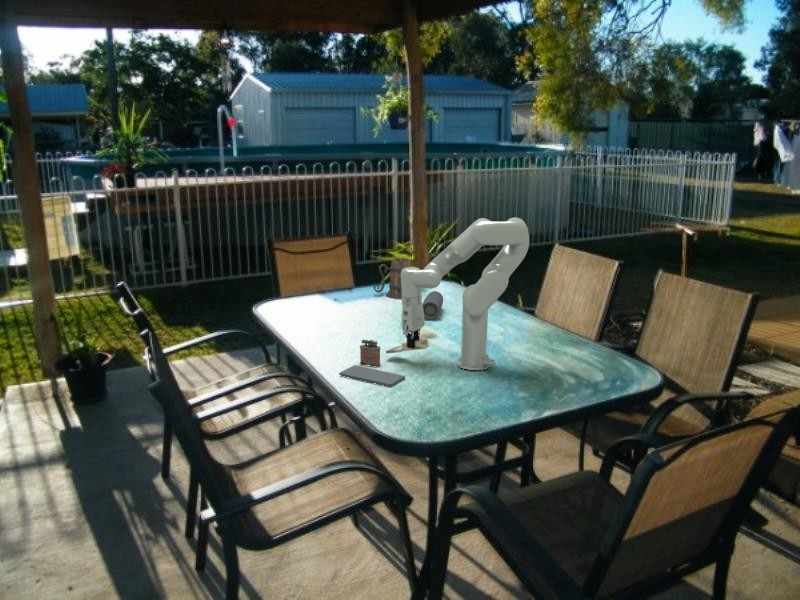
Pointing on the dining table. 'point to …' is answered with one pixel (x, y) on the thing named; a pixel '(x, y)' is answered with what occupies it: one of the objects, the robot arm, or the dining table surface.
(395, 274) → the tankard
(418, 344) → the turner
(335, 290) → the dining table surface
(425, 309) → the bluetooth speaker
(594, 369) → the dining table surface
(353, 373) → the mat
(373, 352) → the lighter
